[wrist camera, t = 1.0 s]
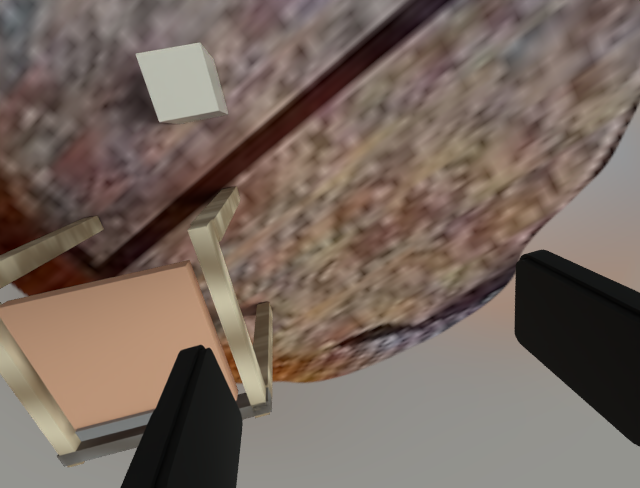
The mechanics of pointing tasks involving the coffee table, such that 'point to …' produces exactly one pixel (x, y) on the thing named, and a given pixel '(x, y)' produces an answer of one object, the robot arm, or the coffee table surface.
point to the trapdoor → (113, 343)
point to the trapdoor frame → (205, 233)
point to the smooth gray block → (182, 83)
